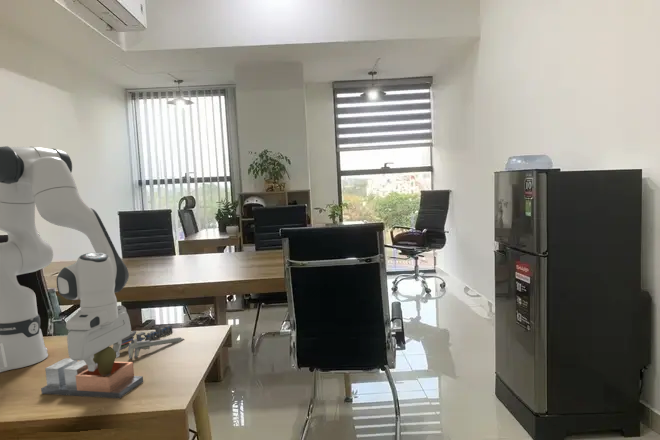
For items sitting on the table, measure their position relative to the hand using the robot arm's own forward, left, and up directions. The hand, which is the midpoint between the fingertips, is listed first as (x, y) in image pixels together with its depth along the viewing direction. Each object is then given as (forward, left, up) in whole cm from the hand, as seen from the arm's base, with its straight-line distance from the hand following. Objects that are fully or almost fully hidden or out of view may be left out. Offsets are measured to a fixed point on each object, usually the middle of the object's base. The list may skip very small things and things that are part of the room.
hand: (104, 363), depth 126 cm
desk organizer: (-3, 0, -7) cm, 8 cm away
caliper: (-3, +29, -7) cm, 30 cm away
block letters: (-12, +34, -7) cm, 37 cm away
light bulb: (0, 0, -5) cm, 5 cm away
